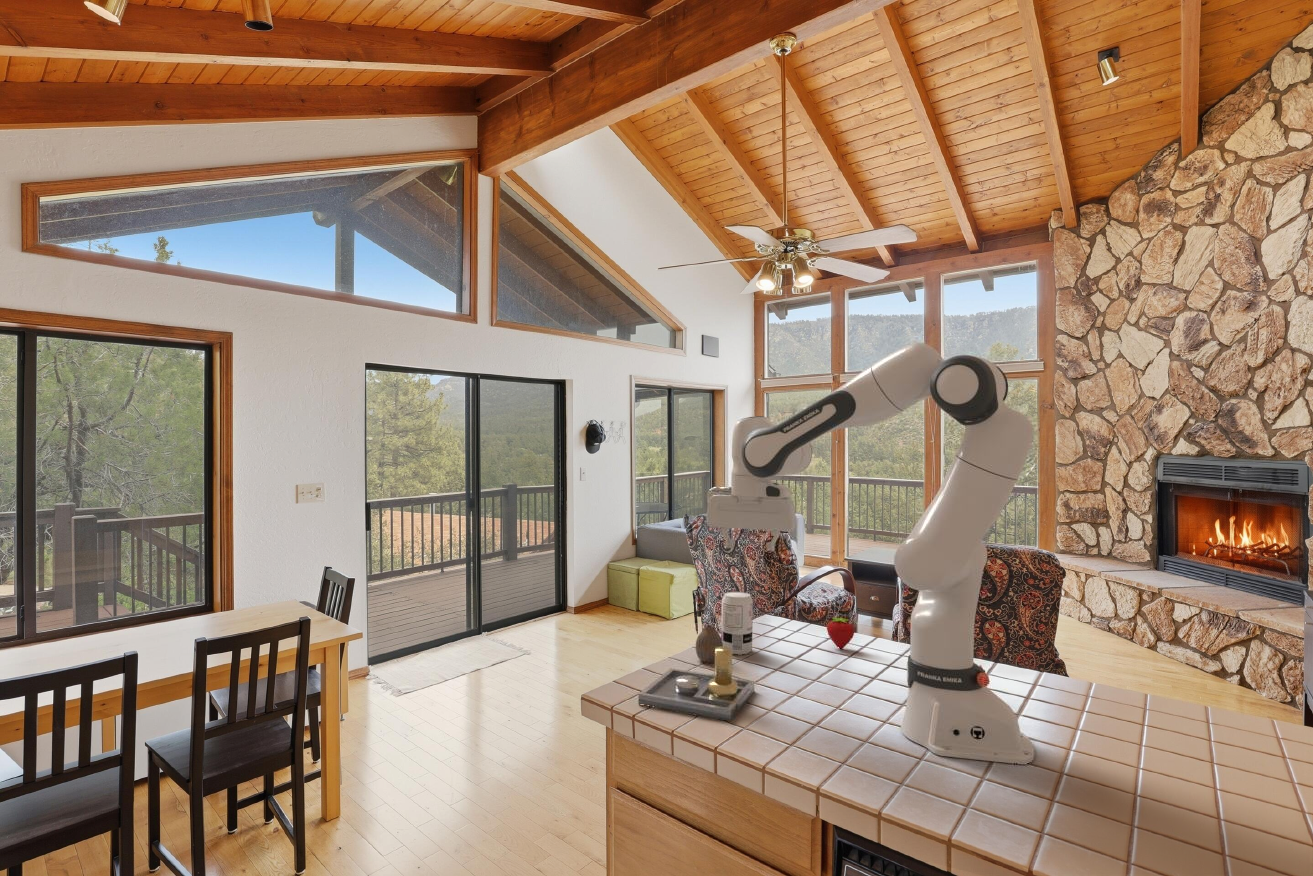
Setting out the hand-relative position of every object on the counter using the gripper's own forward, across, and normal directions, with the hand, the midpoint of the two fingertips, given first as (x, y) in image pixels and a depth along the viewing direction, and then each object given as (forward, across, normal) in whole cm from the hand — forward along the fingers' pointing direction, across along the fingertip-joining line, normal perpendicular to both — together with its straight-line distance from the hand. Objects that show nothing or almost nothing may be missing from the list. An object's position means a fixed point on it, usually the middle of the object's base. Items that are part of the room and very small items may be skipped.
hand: (749, 549), depth 150 cm
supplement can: (+31, -10, +25) cm, 41 cm away
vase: (+31, -14, +14) cm, 37 cm away
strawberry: (+31, +15, +39) cm, 52 cm away
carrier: (+31, -8, -11) cm, 34 cm away
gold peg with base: (+30, -2, -11) cm, 32 cm away
